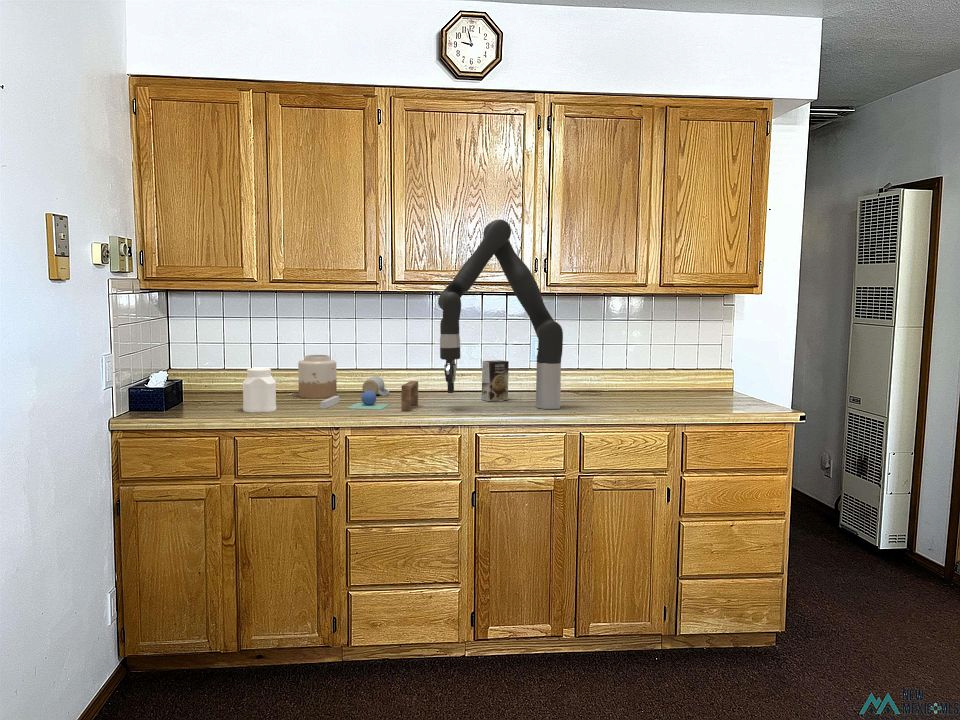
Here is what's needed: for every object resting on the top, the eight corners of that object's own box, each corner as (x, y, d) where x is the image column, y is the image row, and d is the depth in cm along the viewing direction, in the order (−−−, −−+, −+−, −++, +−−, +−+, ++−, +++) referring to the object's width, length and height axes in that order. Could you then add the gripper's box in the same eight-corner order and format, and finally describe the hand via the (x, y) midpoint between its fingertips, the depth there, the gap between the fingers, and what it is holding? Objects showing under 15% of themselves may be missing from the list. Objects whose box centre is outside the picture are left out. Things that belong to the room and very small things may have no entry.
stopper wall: (339, 402, 290) (339, 395, 290) (325, 408, 275) (325, 401, 274) (334, 402, 291) (334, 395, 290) (320, 408, 275) (320, 401, 275)
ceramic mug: (361, 396, 307) (361, 377, 306) (367, 393, 315) (367, 375, 315) (386, 397, 306) (386, 379, 305) (391, 394, 314) (391, 376, 313)
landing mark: (389, 404, 286) (389, 404, 286) (380, 409, 273) (380, 409, 273) (357, 403, 288) (357, 402, 288) (346, 408, 275) (346, 408, 275)
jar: (241, 412, 264) (241, 370, 262) (244, 408, 273) (243, 367, 272) (275, 412, 266) (274, 370, 265) (277, 407, 275) (276, 367, 274)
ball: (373, 406, 286) (380, 394, 285) (369, 409, 281) (376, 397, 280) (361, 398, 287) (368, 386, 285) (356, 401, 281) (364, 389, 280)
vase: (304, 393, 314) (304, 353, 313) (340, 394, 313) (340, 354, 312) (293, 398, 299) (293, 357, 297) (331, 399, 298) (330, 357, 296)
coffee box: (490, 402, 295) (490, 361, 294) (481, 400, 300) (481, 360, 299) (508, 400, 300) (509, 360, 299) (499, 398, 305) (500, 359, 304)
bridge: (418, 405, 285) (418, 381, 285) (409, 411, 271) (409, 386, 270) (410, 404, 286) (410, 380, 285) (401, 411, 271) (401, 385, 271)
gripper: (457, 347, 267) (458, 395, 269) (462, 344, 280) (463, 390, 282) (436, 347, 268) (437, 395, 270) (443, 344, 281) (444, 390, 283)
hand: (450, 392), depth 276 cm, fingers closed
